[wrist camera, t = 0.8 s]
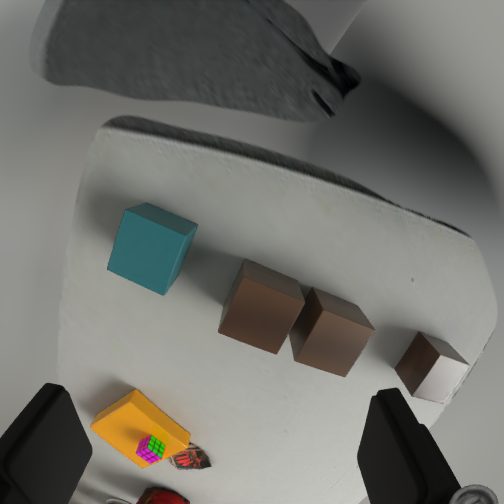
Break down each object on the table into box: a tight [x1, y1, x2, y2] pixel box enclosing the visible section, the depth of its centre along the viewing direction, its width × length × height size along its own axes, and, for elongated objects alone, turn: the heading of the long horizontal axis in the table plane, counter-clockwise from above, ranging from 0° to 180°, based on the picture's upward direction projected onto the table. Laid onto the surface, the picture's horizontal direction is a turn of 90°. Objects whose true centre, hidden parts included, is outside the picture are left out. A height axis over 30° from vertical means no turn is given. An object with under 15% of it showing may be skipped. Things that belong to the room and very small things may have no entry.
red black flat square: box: [170, 444, 212, 470], centre depth 31 cm, size 5×5×1 cm
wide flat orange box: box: [90, 389, 191, 468], centre depth 28 cm, size 8×8×4 cm
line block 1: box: [218, 259, 305, 354], centre depth 24 cm, size 5×5×5 cm
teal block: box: [107, 203, 198, 296], centre depth 23 cm, size 5×5×5 cm
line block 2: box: [289, 287, 375, 377], centre depth 25 cm, size 5×5×5 cm
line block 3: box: [395, 331, 470, 404], centre depth 26 cm, size 5×5×5 cm
